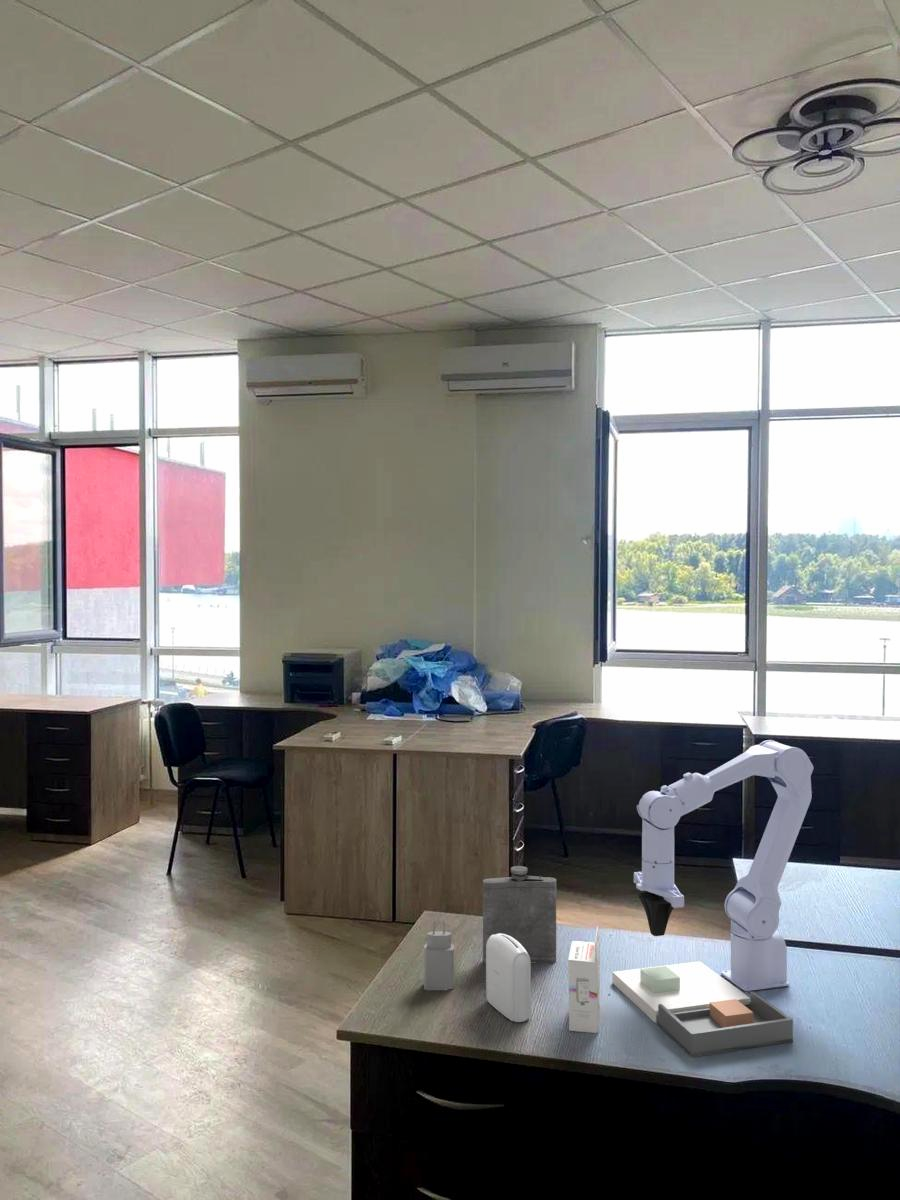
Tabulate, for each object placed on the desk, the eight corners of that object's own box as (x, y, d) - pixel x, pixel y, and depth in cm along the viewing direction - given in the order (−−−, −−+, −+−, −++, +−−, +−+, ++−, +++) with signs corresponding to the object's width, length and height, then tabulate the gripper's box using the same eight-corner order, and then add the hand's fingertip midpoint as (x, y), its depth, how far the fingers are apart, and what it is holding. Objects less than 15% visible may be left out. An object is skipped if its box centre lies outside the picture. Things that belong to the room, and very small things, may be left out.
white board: (699, 971, 166) (699, 961, 166) (750, 1009, 151) (750, 998, 151) (612, 982, 161) (612, 971, 161) (655, 1023, 146) (655, 1011, 146)
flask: (481, 957, 173) (481, 866, 173) (553, 955, 174) (554, 864, 174) (483, 965, 169) (483, 871, 169) (557, 963, 170) (557, 870, 170)
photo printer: (482, 1000, 154) (482, 929, 154) (504, 995, 156) (504, 925, 156) (512, 1025, 145) (512, 950, 145) (534, 1020, 147) (534, 946, 147)
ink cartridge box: (570, 1007, 152) (571, 922, 152) (600, 1010, 151) (600, 924, 151) (567, 1031, 143) (567, 940, 143) (598, 1034, 142) (598, 943, 142)
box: (751, 1010, 151) (751, 990, 151) (792, 1041, 140) (792, 1019, 140) (656, 1024, 146) (656, 1002, 146) (691, 1057, 135) (691, 1034, 135)
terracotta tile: (736, 1012, 149) (736, 999, 149) (753, 1026, 144) (753, 1012, 144) (709, 1015, 148) (709, 1002, 148) (725, 1029, 143) (725, 1016, 143)
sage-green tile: (665, 978, 159) (665, 965, 159) (679, 989, 154) (679, 977, 154) (640, 981, 157) (640, 969, 157) (654, 993, 153) (654, 980, 153)
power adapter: (424, 982, 161) (424, 917, 161) (453, 982, 161) (453, 917, 162) (423, 990, 158) (423, 923, 158) (454, 990, 158) (454, 923, 158)
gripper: (619, 850, 166) (618, 922, 166) (658, 873, 152) (658, 952, 152) (652, 847, 168) (652, 918, 168) (694, 869, 154) (694, 947, 154)
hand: (657, 934), depth 160 cm, fingers closed
